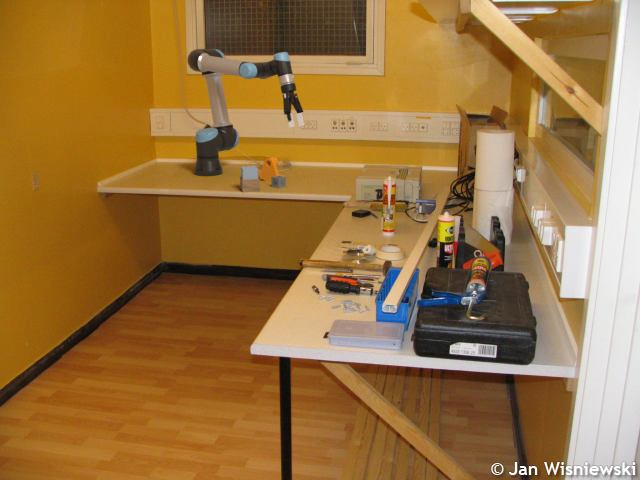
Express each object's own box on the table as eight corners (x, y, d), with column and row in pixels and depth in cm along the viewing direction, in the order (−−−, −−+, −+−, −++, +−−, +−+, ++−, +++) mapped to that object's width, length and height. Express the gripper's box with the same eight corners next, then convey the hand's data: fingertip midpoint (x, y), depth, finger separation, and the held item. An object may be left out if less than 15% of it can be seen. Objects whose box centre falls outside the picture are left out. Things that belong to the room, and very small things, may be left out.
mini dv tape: (415, 213, 278) (415, 199, 277) (415, 212, 280) (415, 198, 278) (435, 214, 277) (435, 200, 275) (435, 214, 278) (436, 199, 276)
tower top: (241, 176, 322) (240, 166, 321) (255, 176, 324) (255, 165, 322) (243, 179, 316) (242, 169, 314) (257, 179, 317) (257, 168, 316)
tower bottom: (240, 189, 324) (239, 176, 322) (256, 188, 326) (256, 175, 324) (242, 192, 317) (242, 179, 315) (259, 191, 319) (259, 179, 317)
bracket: (285, 180, 344) (285, 157, 340) (277, 182, 338) (276, 159, 334) (268, 178, 349) (268, 155, 346) (260, 180, 343) (259, 157, 340)
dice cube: (278, 188, 325) (278, 178, 324) (271, 187, 329) (271, 176, 327) (286, 186, 329) (285, 176, 328) (278, 185, 332) (278, 175, 331)
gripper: (284, 82, 323) (294, 125, 325) (303, 82, 346) (312, 123, 348) (270, 85, 325) (280, 129, 328) (290, 86, 348) (299, 126, 351)
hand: (297, 126), depth 338 cm, fingers open, 13 cm apart
